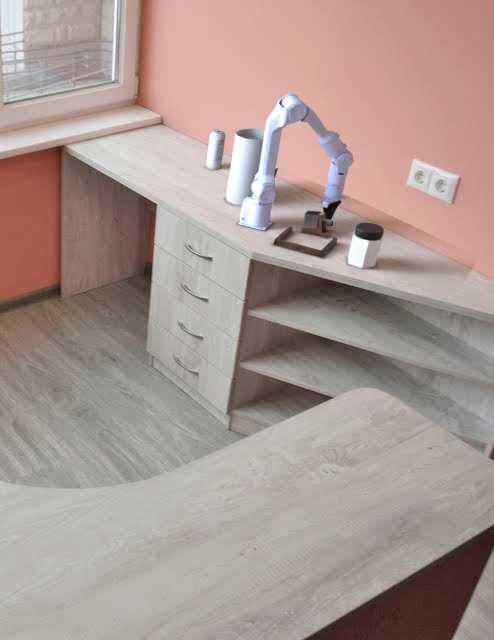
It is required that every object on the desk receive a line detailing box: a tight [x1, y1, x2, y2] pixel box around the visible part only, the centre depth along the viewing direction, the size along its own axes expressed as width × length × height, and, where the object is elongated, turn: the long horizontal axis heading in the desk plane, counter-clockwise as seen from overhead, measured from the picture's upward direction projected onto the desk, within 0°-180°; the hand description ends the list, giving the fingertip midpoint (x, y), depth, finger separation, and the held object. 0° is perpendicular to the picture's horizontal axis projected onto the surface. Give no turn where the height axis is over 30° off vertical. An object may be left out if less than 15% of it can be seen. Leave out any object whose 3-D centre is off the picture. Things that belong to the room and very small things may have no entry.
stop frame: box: [273, 225, 338, 259], centre depth 264 cm, size 16×13×2 cm
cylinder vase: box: [225, 128, 265, 207], centre depth 289 cm, size 12×12×25 cm
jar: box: [347, 222, 385, 269], centre depth 250 cm, size 9×8×12 cm
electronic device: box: [300, 210, 334, 239], centre depth 270 cm, size 4×10×8 cm, turn 55°
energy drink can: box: [205, 128, 226, 171], centre depth 321 cm, size 6×6×15 cm
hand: (327, 220), depth 277 cm, fingers closed
